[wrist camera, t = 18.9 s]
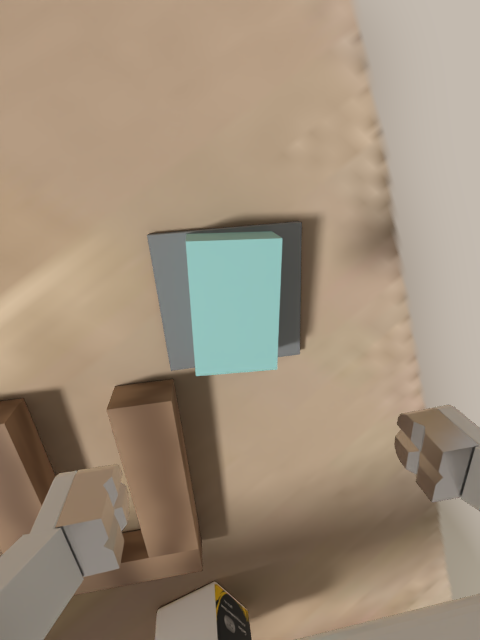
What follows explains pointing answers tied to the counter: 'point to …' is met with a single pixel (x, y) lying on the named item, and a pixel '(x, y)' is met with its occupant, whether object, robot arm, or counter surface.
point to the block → (234, 300)
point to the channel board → (142, 477)
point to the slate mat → (176, 296)
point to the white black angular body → (203, 617)
